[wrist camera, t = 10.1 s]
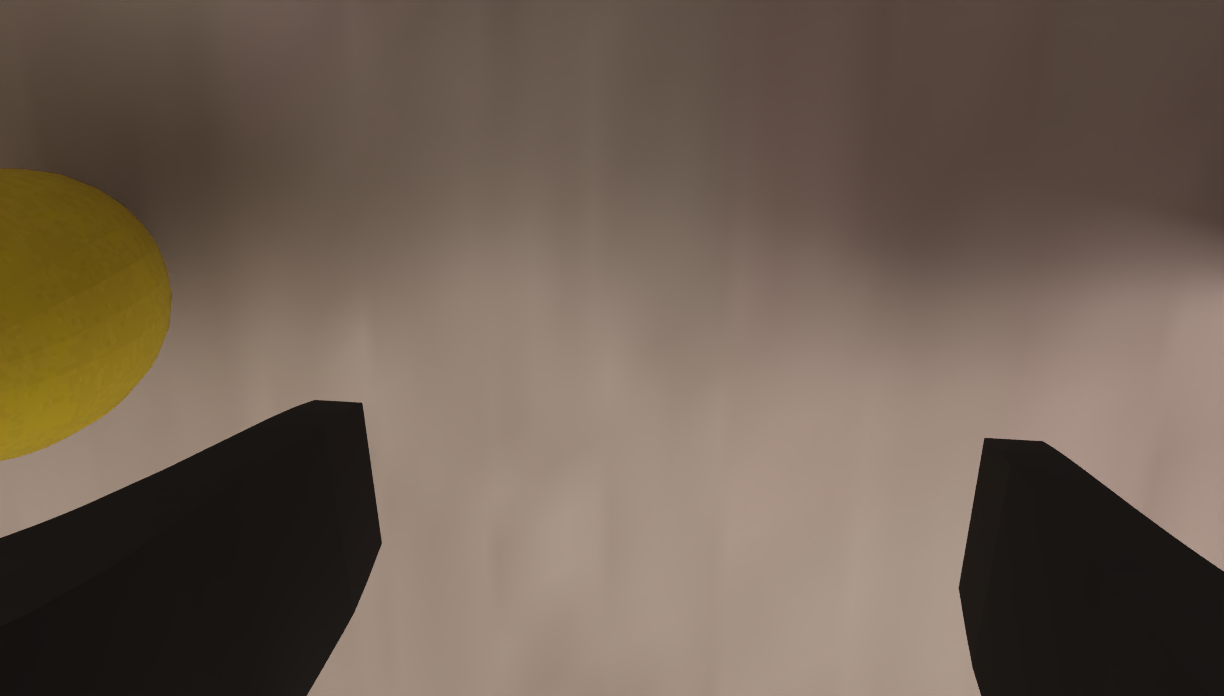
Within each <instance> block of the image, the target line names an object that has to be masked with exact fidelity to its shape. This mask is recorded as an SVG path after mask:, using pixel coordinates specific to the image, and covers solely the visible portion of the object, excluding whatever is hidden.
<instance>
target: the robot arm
mask: <svg viewBox="0 0 1224 696" xmlns="http://www.w3.org/2000/svg"><path fill="white" fill-rule="evenodd" d="M381 544H382V541H381V534H380V527H379V520H378V512H377V505H376V498H375V491H374V484H373V477H372V469H371V462H370V455H369V448H368V441H367V434H366V426H365V419H364V412H363V405H362V403H357V402H339V401H321V400H314V401H311V402H308V403H305V404H302V405H299V406H297V407H294V408H292V409H289V410H287V411H285V412H282V413H280V414H278V415H276V416H274V417H271V418H269V419H267V420H265V421H263V422H261V423H259V424H257V425H254V426H252V427H250V428H248V429H246V430H244V431H242V432H240V433H238V434H236V435H234V436H232V437H230V438H228V439H226V440H224V441H222V442H220V443H218V444H216V445H214V446H211V447H209V448H207V449H205V450H203V451H201V452H199V453H197V454H195V455H193V456H191V457H189V458H187V459H185V460H183V461H181V462H179V463H177V464H175V465H173V466H171V467H168V468H166V469H164V470H162V471H160V472H158V473H155V474H153V475H151V476H149V477H147V478H144V479H142V480H140V481H138V482H135V483H133V484H131V485H129V486H127V487H124V488H122V489H120V490H118V491H115V492H113V493H111V494H109V495H107V496H104V497H102V498H100V499H98V500H96V501H93V502H91V503H89V504H87V505H84V506H82V507H80V508H77V509H75V510H72V511H70V512H68V513H65V514H63V515H60V516H58V517H55V518H53V519H50V520H48V521H45V522H43V523H40V524H37V525H35V526H32V527H30V528H27V529H24V530H21V531H19V532H16V533H13V534H10V535H8V536H5V537H2V538H0V696H307V694H308V692H309V691H310V689H311V687H312V685H313V684H314V682H315V680H316V679H317V677H318V675H319V674H320V672H321V670H322V668H323V667H324V665H325V663H326V661H327V660H328V658H329V656H330V655H331V653H332V651H333V649H334V648H335V646H336V644H337V642H338V641H339V639H340V637H341V635H342V634H343V632H344V630H345V628H346V626H347V625H348V623H349V621H350V619H351V617H352V616H353V614H354V612H355V609H356V607H357V605H358V602H359V600H360V597H361V595H362V593H363V590H364V588H365V586H366V583H367V581H368V578H369V576H370V573H371V570H372V568H373V565H374V562H375V560H376V557H377V555H378V552H379V549H380V547H381ZM959 592H960V598H961V604H962V610H963V617H964V623H965V629H966V635H967V640H968V645H969V650H970V656H971V661H972V666H973V670H974V673H975V677H976V680H977V683H978V687H979V690H980V693H981V696H1224V571H1222V570H1221V569H1219V568H1218V567H1216V566H1215V565H1213V564H1212V563H1210V562H1209V561H1207V560H1206V559H1205V558H1203V557H1202V556H1200V555H1199V554H1197V553H1196V552H1194V551H1193V550H1192V549H1190V548H1189V547H1187V546H1186V545H1184V544H1183V543H1182V542H1180V541H1179V540H1177V539H1176V538H1175V537H1173V536H1172V535H1170V534H1169V533H1168V532H1166V531H1165V530H1164V529H1162V528H1161V527H1160V526H1158V525H1157V524H1155V523H1154V522H1153V521H1151V520H1150V519H1149V518H1147V517H1146V516H1145V515H1143V514H1142V513H1141V512H1139V511H1138V510H1137V509H1135V508H1134V507H1133V506H1131V505H1130V504H1129V503H1127V502H1126V501H1125V500H1123V499H1122V498H1121V497H1119V496H1118V495H1117V494H1115V493H1114V492H1113V491H1111V490H1110V489H1109V488H1107V487H1106V486H1105V485H1103V484H1102V483H1101V482H1099V481H1098V480H1097V479H1095V478H1094V477H1093V476H1092V475H1090V474H1089V473H1088V472H1086V471H1085V470H1084V469H1082V468H1081V467H1079V466H1078V465H1077V464H1075V463H1074V462H1073V461H1071V460H1070V459H1069V458H1067V457H1066V456H1064V455H1063V454H1062V453H1060V452H1059V451H1057V450H1056V449H1054V448H1053V447H1051V446H1050V445H1048V444H1046V443H1045V442H1043V441H1028V440H1011V439H993V438H984V444H983V450H982V455H981V461H980V467H979V473H978V479H977V485H976V490H975V496H974V502H973V508H972V514H971V520H970V526H969V531H968V537H967V543H966V549H965V555H964V561H963V566H962V572H961V578H960V584H959Z"/></svg>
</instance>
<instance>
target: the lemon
mask: <svg viewBox="0 0 1224 696" xmlns="http://www.w3.org/2000/svg"><path fill="white" fill-rule="evenodd" d="M171 297H172V294H171V288H170V283H169V277H168V272H167V268H166V265H165V263H164V260H163V258H162V255H161V253H160V251H159V248H158V246H157V244H156V243H155V241H154V240H153V238H152V237H151V235H150V234H149V233H148V231H147V230H146V228H145V227H144V225H143V224H142V223H141V222H140V221H139V220H138V219H137V218H136V217H135V216H134V215H133V214H132V213H130V212H129V211H128V210H127V209H126V208H125V207H124V206H123V205H122V204H120V203H119V202H117V201H116V200H114V199H113V198H111V197H110V196H108V195H107V194H105V193H104V192H102V191H101V190H99V189H97V188H95V187H92V186H90V185H87V184H85V183H82V182H79V181H77V180H74V179H72V178H69V177H67V176H64V175H61V174H55V173H49V172H42V171H34V170H27V169H13V168H5V169H0V461H2V460H7V459H11V458H16V457H19V456H22V455H26V454H29V453H32V452H35V451H38V450H40V449H43V448H46V447H48V446H50V445H52V444H55V443H57V442H59V441H61V440H63V439H65V438H67V437H68V436H70V435H72V434H74V433H76V432H77V431H79V430H81V429H83V428H84V427H86V426H88V425H89V424H91V423H93V422H95V421H96V420H98V419H99V418H101V417H102V416H104V415H105V414H107V413H108V412H110V411H111V410H112V409H113V408H114V407H116V406H117V405H118V404H119V403H120V402H121V401H122V400H123V399H124V398H125V397H126V396H127V395H128V394H129V393H130V392H131V390H132V389H133V388H134V387H135V386H136V385H137V383H138V382H139V381H140V380H141V379H142V378H143V376H144V375H145V374H146V373H147V371H148V370H149V369H150V368H151V366H152V365H153V363H154V361H155V360H156V358H157V356H158V353H159V351H160V348H161V346H162V343H163V341H164V338H165V336H166V333H167V330H168V328H169V322H170V310H171Z"/></svg>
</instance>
